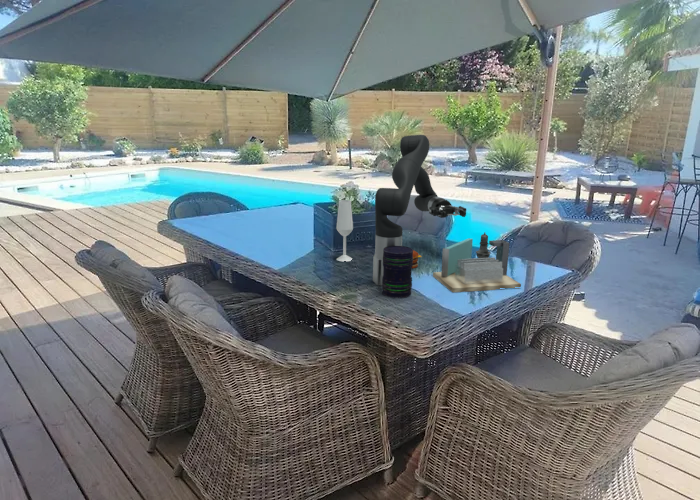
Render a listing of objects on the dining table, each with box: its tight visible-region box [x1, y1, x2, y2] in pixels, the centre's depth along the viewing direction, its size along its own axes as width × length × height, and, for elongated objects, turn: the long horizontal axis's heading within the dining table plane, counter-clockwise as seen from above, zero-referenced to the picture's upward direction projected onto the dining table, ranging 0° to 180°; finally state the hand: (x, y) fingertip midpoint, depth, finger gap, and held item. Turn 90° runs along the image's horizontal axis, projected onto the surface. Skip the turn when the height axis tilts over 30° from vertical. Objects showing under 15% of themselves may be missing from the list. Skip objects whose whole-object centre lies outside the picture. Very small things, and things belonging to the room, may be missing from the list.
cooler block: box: [455, 239, 510, 284], centre depth 179 cm, size 20×12×12 cm, turn 102°
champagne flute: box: [335, 199, 354, 262], centre depth 205 cm, size 7×7×24 cm
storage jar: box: [381, 245, 414, 299], centre depth 167 cm, size 10×10×15 cm
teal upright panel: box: [440, 238, 473, 277], centre depth 187 cm, size 21×2×10 cm, turn 142°
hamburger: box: [412, 249, 423, 269], centre depth 199 cm, size 9×10×7 cm
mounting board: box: [432, 271, 522, 293], centre depth 181 cm, size 25×18×2 cm
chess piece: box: [475, 232, 491, 258], centre depth 206 cm, size 6×6×12 cm
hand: (454, 214), depth 196 cm, fingers open, 7 cm apart
